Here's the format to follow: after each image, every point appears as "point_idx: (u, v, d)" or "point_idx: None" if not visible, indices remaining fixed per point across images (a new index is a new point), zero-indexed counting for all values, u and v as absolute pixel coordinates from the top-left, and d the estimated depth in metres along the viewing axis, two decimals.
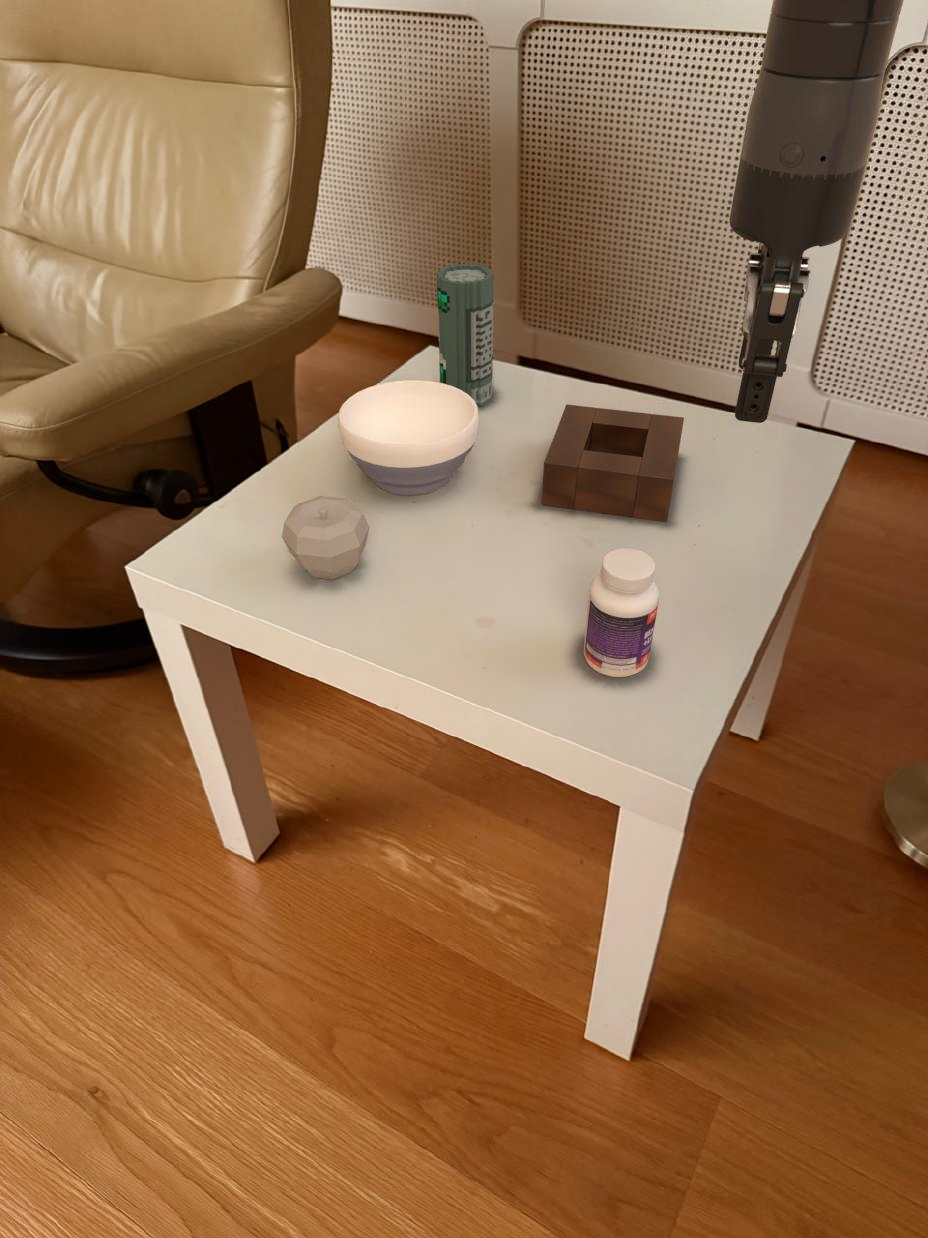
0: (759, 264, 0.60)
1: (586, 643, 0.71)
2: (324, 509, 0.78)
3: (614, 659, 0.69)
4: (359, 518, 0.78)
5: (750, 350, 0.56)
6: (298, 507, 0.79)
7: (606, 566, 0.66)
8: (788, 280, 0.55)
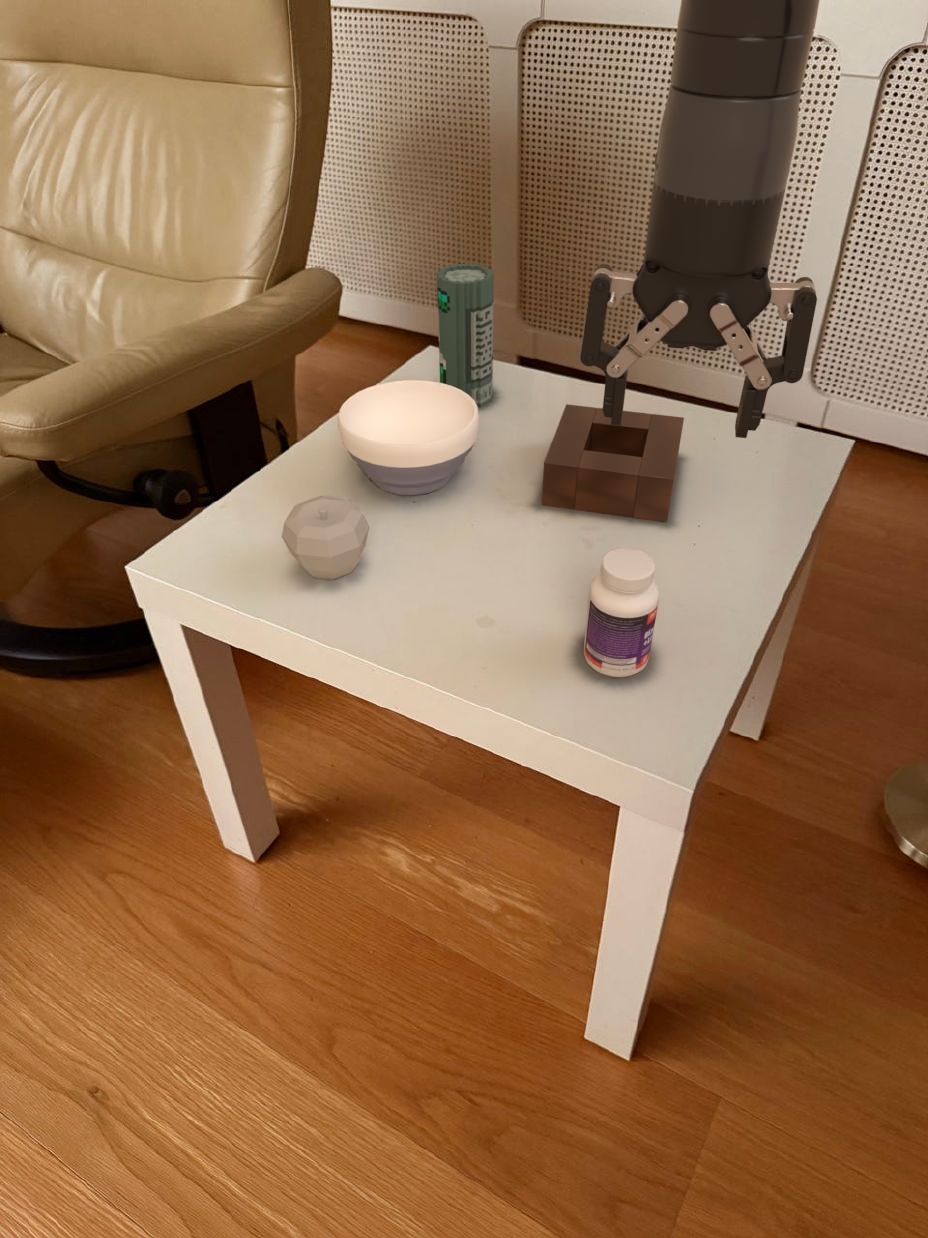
0: None
1: (586, 643, 0.71)
2: (324, 509, 0.78)
3: (614, 659, 0.69)
4: (359, 518, 0.78)
5: None
6: (298, 507, 0.79)
7: (606, 566, 0.66)
8: (616, 276, 0.55)
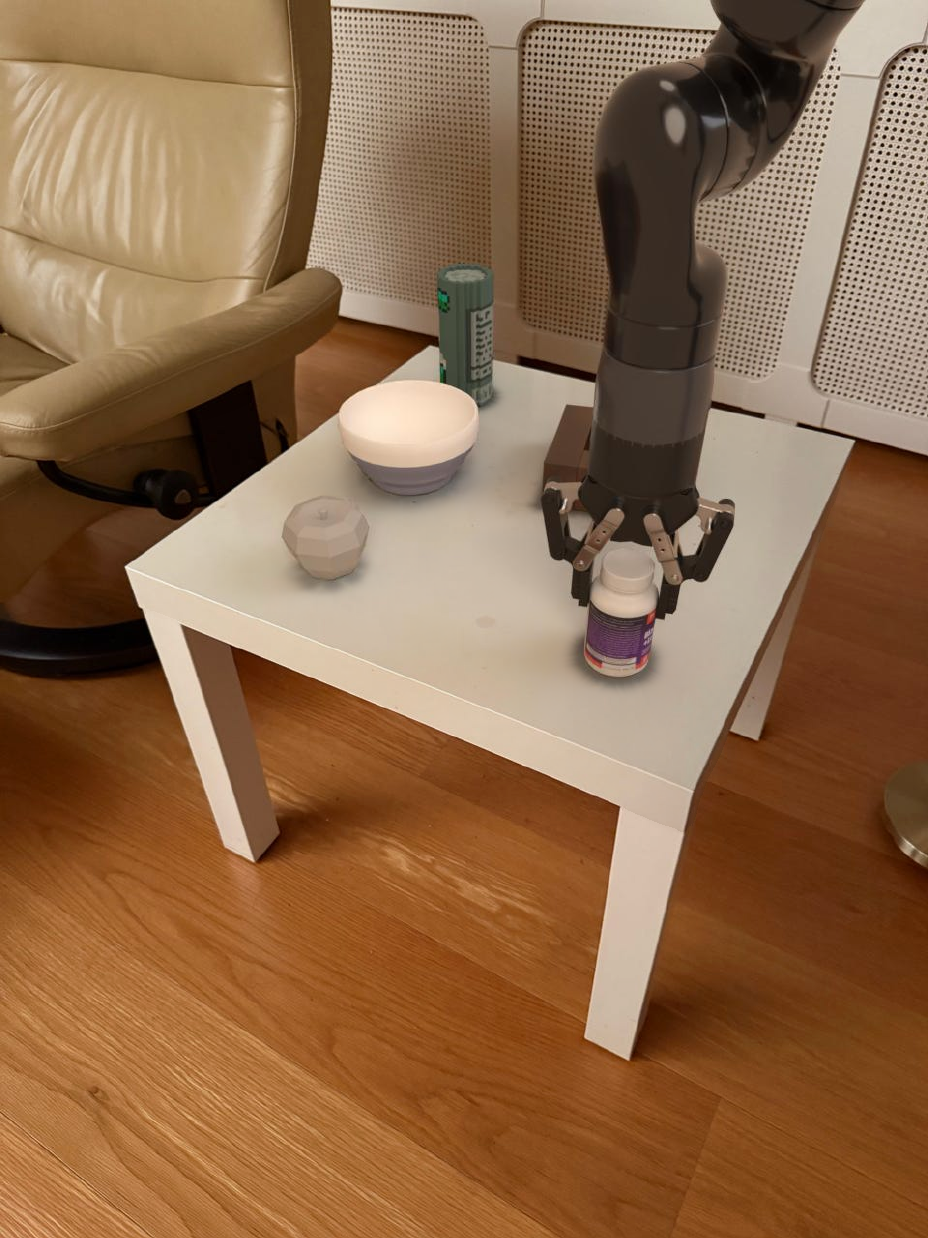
0: None
1: (586, 643, 0.71)
2: (324, 509, 0.78)
3: (614, 659, 0.69)
4: (359, 518, 0.78)
5: None
6: (298, 507, 0.79)
7: (606, 566, 0.66)
8: (562, 488, 0.63)
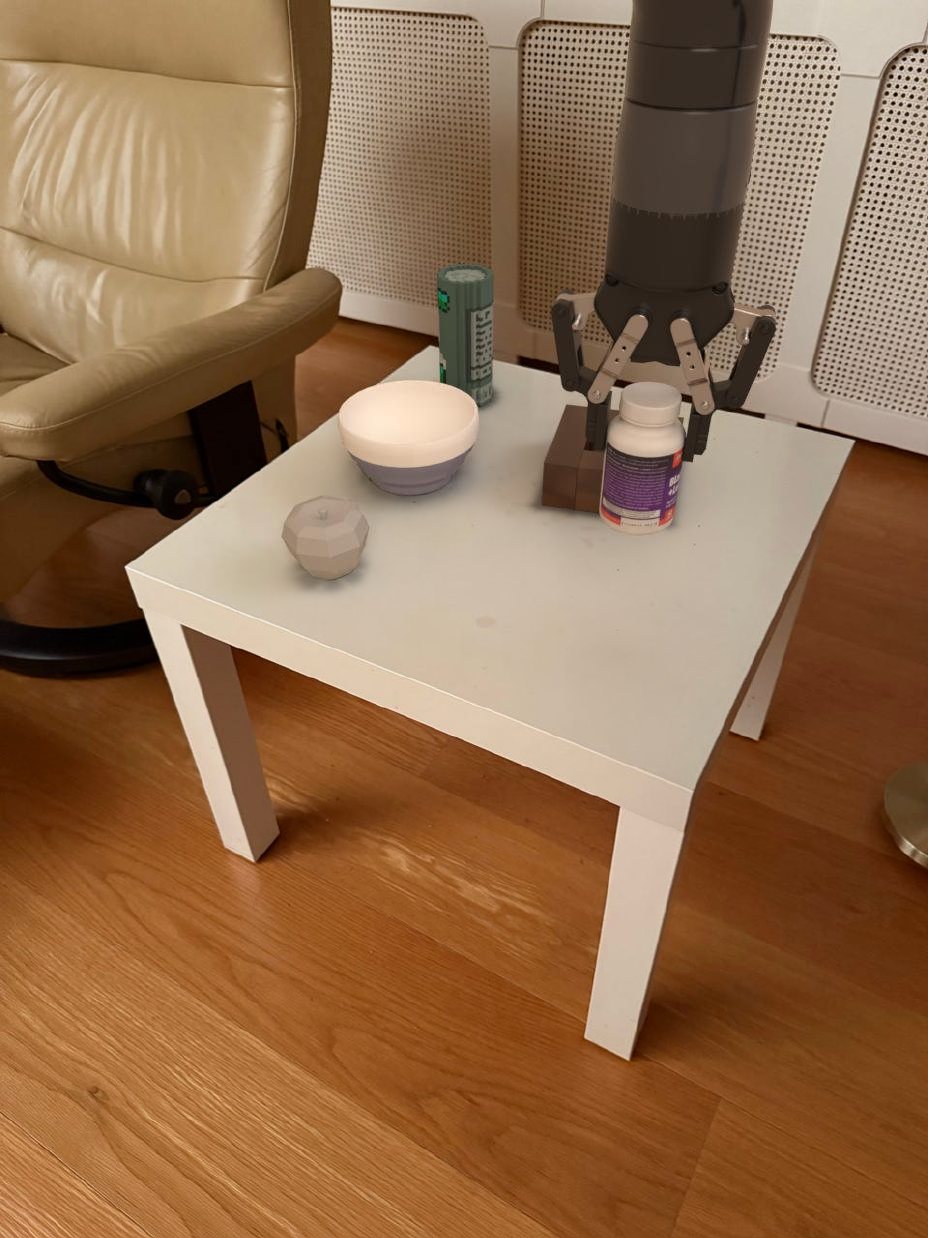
0: None
1: (602, 498, 0.63)
2: (324, 509, 0.78)
3: (635, 511, 0.61)
4: (359, 518, 0.78)
5: None
6: (298, 507, 0.79)
7: (625, 397, 0.58)
8: (575, 298, 0.55)
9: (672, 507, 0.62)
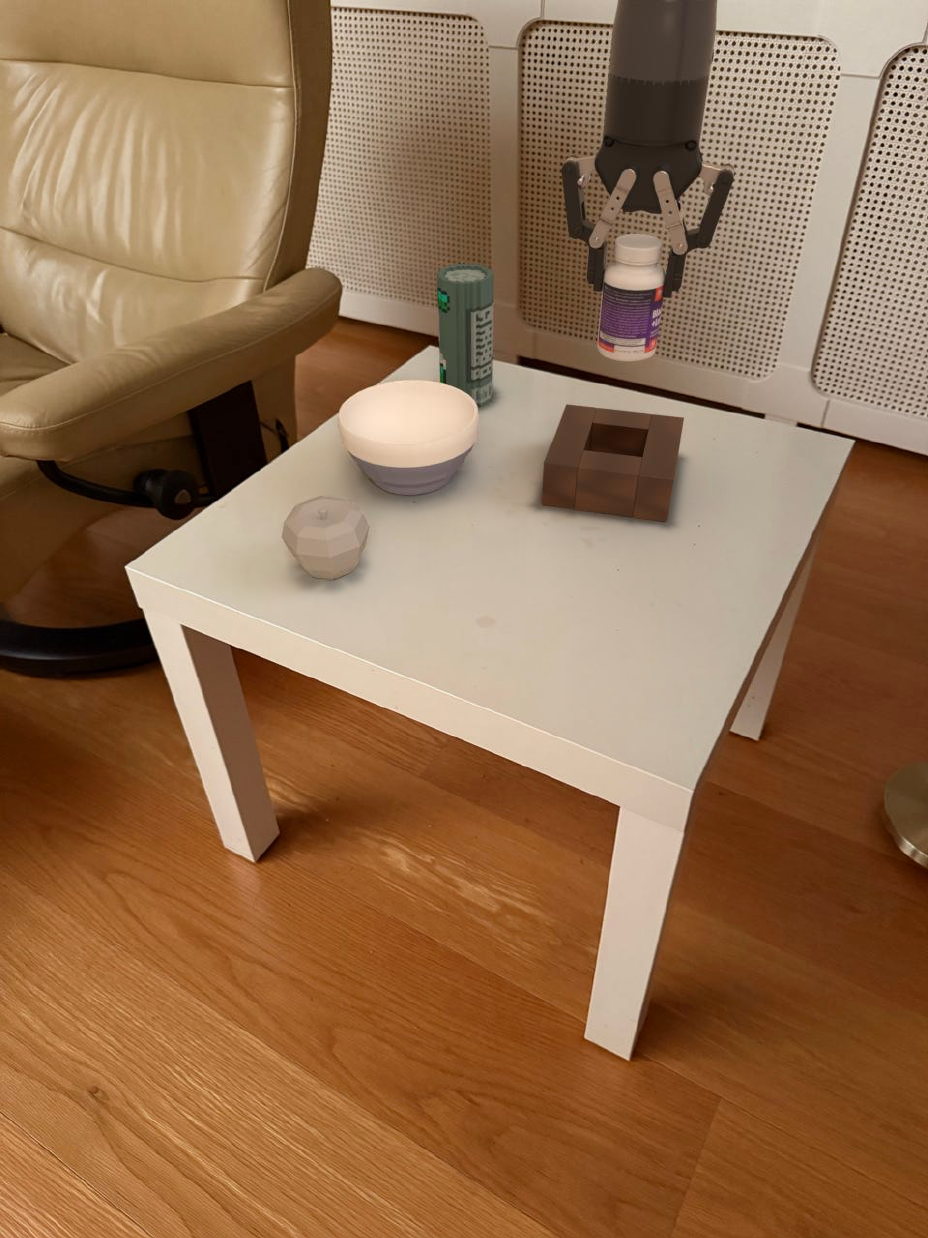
0: None
1: (600, 332, 0.79)
2: (324, 509, 0.78)
3: (625, 339, 0.77)
4: (359, 518, 0.78)
5: None
6: (298, 507, 0.79)
7: (618, 242, 0.74)
8: (580, 159, 0.71)
9: (655, 338, 0.78)
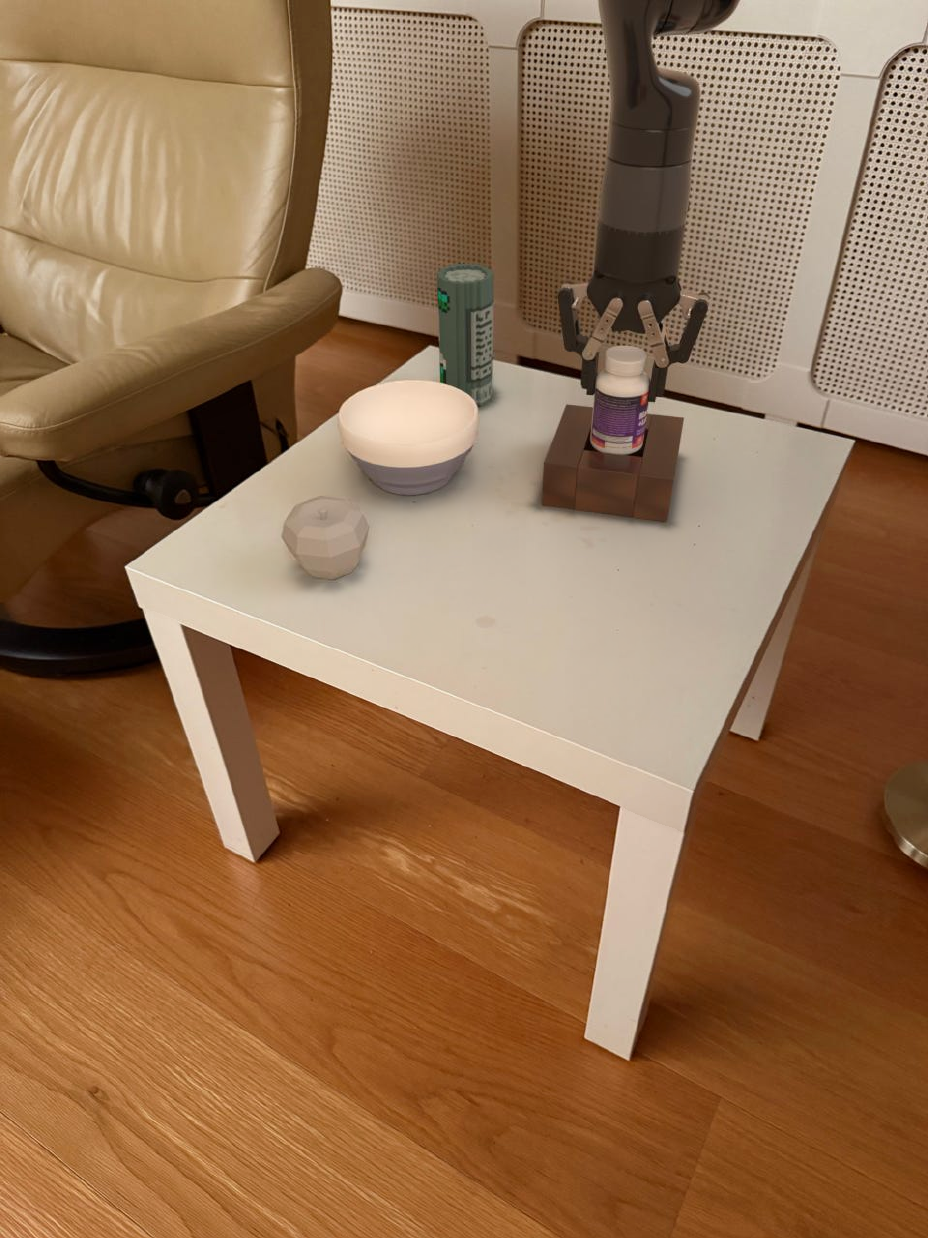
0: None
1: (592, 429, 0.89)
2: (324, 509, 0.78)
3: (615, 437, 0.87)
4: (359, 518, 0.78)
5: None
6: (298, 507, 0.79)
7: (608, 355, 0.84)
8: (574, 287, 0.81)
9: (641, 435, 0.88)
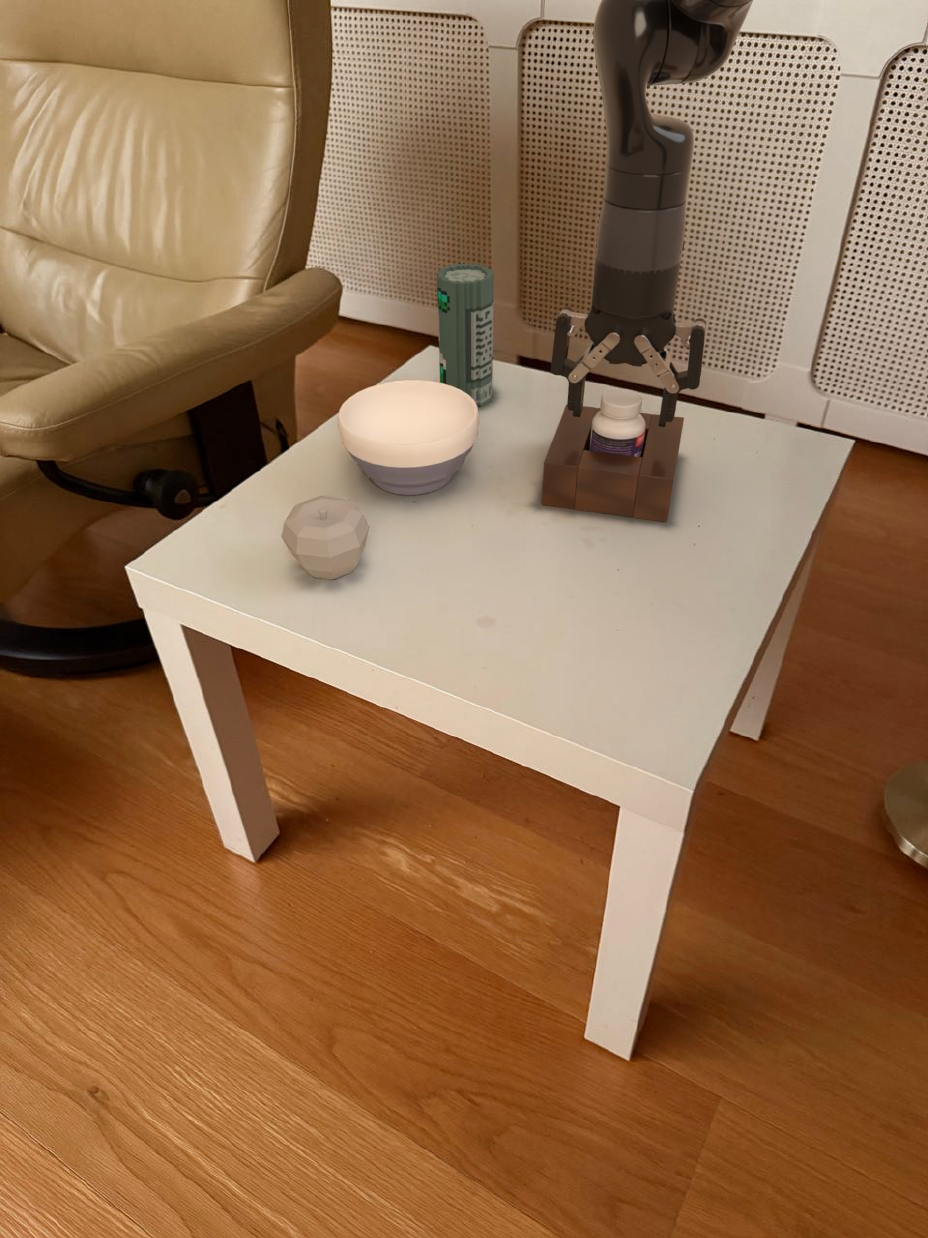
0: None
1: None
2: (324, 509, 0.78)
3: None
4: (359, 518, 0.78)
5: None
6: (298, 507, 0.79)
7: (604, 399, 0.87)
8: (573, 315, 0.83)
9: None
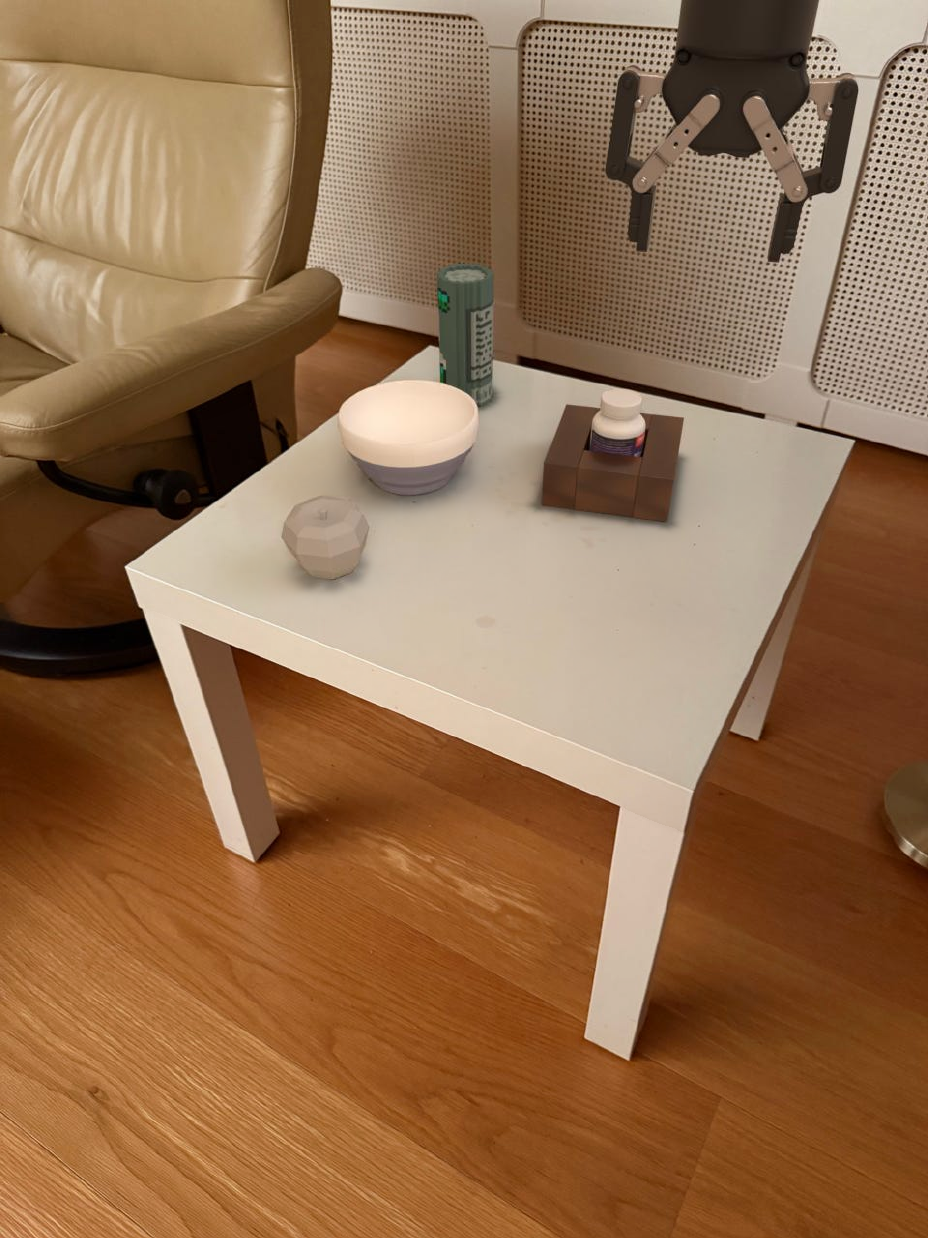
0: None
1: None
2: (324, 509, 0.78)
3: None
4: (359, 518, 0.78)
5: None
6: (298, 507, 0.79)
7: (604, 399, 0.87)
8: (645, 73, 0.53)
9: None
